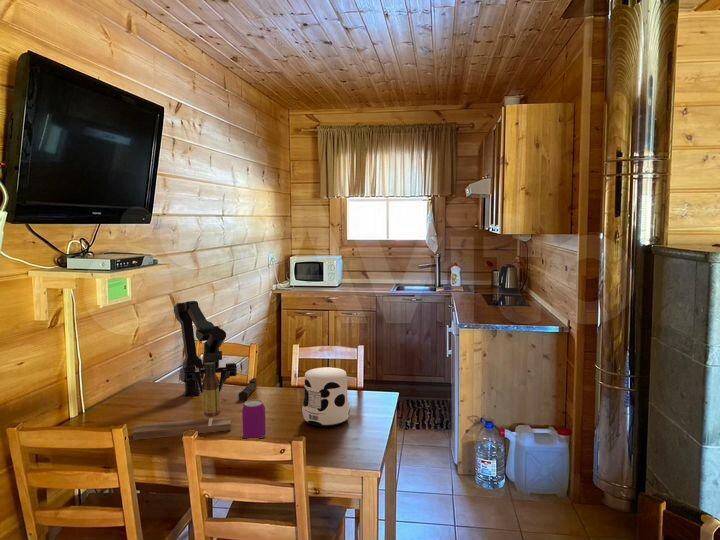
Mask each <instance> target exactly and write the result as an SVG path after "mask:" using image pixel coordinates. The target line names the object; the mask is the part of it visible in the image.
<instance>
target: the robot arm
mask: <svg viewBox="0 0 720 540" xmlns="http://www.w3.org/2000/svg"><path fill="white" fill-rule="evenodd" d="M173 313H174V315H175V318H176V320H177V322H179V324H180V327H181V335H182V340H183V341H182V342H183V350H184V360H183V362H182V365H181V366H182V368H181V371H180V373H179V380H180V381H181V382H183V383H184V392H183V397H189V396H190V397H191V396H192V395H194V396H200V395H201V394H203V393H202V383H203V381H202V380H204V376H205V367H204V363H205V362H212V361H213V362H215V364H216V365H215V372H216V374H220V377H219V392H220V393H221V391H222V388H223V387H224V384H225V382H226V381H227V379H230V378H231V377H236V376H237V375H238V369H237V363H235V362H229V363H228V362H227V363H225V366H223V367H222V366H221V367H220V361H223V350H220V348H221V346H222V345H223V344H224V342H225V340H226V337H227V333H226V331H225V330H224V329H223V328H221V327H220V328H219V325H215V324H213V322H211V321H209V320H207V317H205V315H204V313H203V312H202V309H201V307H200V306H199V302H198V301H197V300H188V301H185V302H177V303H176V304H175V305H174V306H173ZM194 327H195V331H194ZM195 337H196V338H195ZM195 339H197V340H198V341H199V342H203V343H204V344H203V354H202V358H200V357H199V356H198V354H197V353H198V352H197V346H196V341H195ZM200 391H201V392H200ZM192 397H193V396H192Z"/></svg>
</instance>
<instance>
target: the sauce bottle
mask: <svg viewBox="0 0 720 540" xmlns="http://www.w3.org/2000/svg"><path fill="white" fill-rule="evenodd" d="M215 365H216V364H215V362H213V361H212V362H205V363H204V367H205V374H204V377H203V379H202V393H201V394H202V410H203V411H202V412H203V414H204V416H205V417H209V418H214V417H217V416H219V415H221V412H222V410H221V409H222V407H221V391H220V392H219V384H220V379H219V377H218V375H217V373H216V372H215Z"/></svg>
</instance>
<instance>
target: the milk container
mask: <svg viewBox="0 0 720 540" xmlns="http://www.w3.org/2000/svg"><path fill="white" fill-rule="evenodd" d="M303 387H304V399H303V404H302V409H301V410H302V417H303V419H304V421H306V422H307V424H310V425H312V426H315V427H316V426H317V427H334V426H337V425H341V424H343V423H344V422H346V421H347V420H348V419H349V416H350V412H351V411H350V410H351V407H350V402H349V397H348V374H347V371H346V370H344V369H343V368H339V367H325V366H324V367H316V368H311V369H309V370H307V371H306V372H305V373H304V385H303Z"/></svg>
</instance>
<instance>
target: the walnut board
mask: <svg viewBox="0 0 720 540" xmlns="http://www.w3.org/2000/svg"><path fill="white" fill-rule="evenodd" d="M188 430H195V431H198V433H203V434H206V433H205V432H213V431H224V432H227V431H226V430H231V431H232V416H225V417H224V416H223V417H209V418H203V419H202V418H201V419H190V420H179V421H178V420H177V421H168V422H154V423H146V424H145V423H144V424H136V425H135V427H134V430H133V432H132V440H133V441H136V440H146V439H147V440H148V439H158V438H168V437H179V436H184V435H183V433H184V432H185V431H188Z"/></svg>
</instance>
